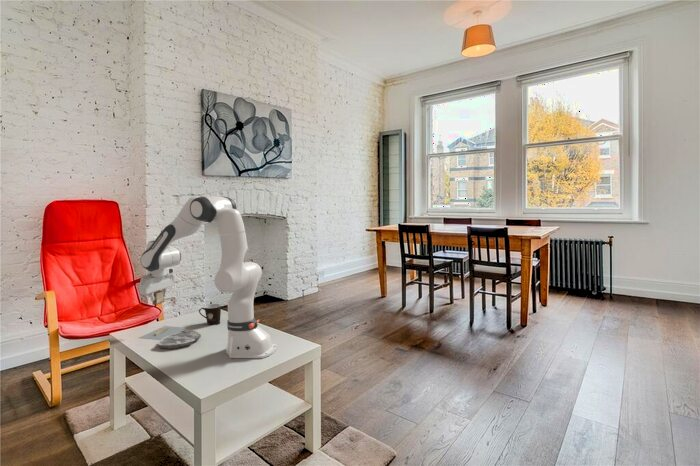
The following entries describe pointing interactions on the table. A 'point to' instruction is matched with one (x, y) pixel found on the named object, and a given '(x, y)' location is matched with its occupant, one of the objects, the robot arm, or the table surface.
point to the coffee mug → (212, 313)
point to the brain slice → (179, 339)
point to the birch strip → (161, 331)
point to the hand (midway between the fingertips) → (158, 298)
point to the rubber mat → (169, 332)
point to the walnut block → (158, 297)
